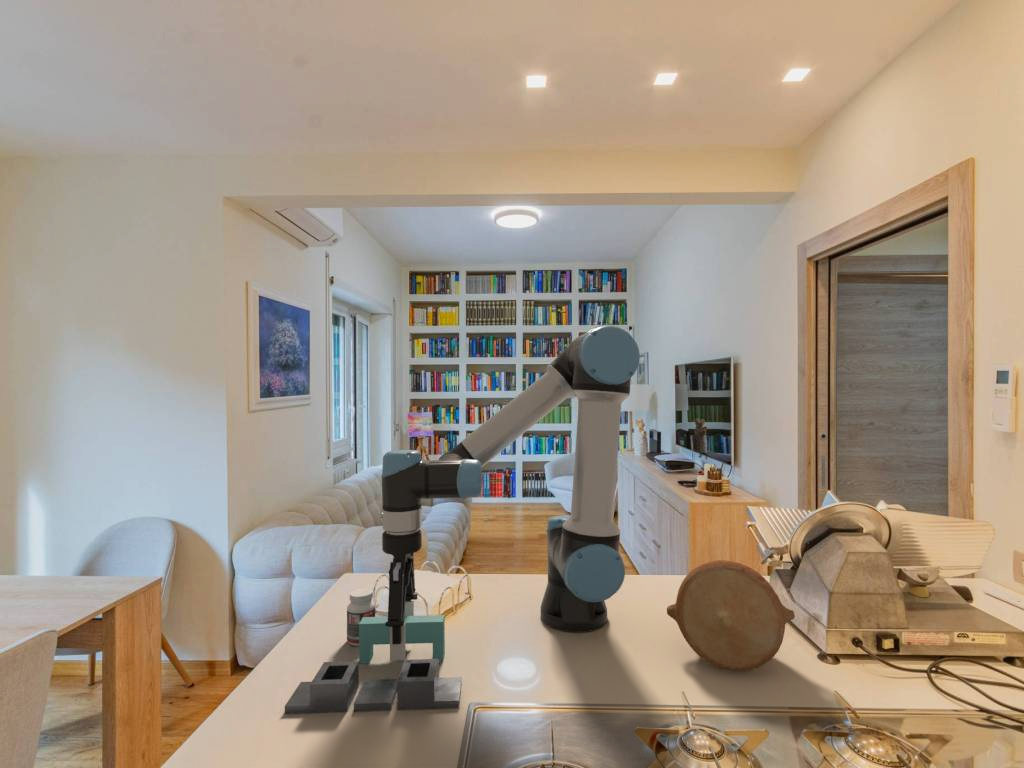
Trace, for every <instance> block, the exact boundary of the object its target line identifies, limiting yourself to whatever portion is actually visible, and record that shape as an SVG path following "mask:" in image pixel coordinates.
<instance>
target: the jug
mask: <svg viewBox="0 0 1024 768" xmlns="http://www.w3.org/2000/svg"><path fill="white" fill-rule="evenodd" d="M666 615H668V616H669V617H670V618H672V619H673V620H674V621H675V622H676V624H677V626H678V628H679V631H680V633H681V635H682V636H683V638H684V640H685V641H686V643H687V644H688V645H689V647H690V648H691V649H692V650H693V652H695V654H696V655H698V656H699V658H701V659H702V660H704V661H705V662H707V663H709V664H710V665H712V666H714V667H716V668H718V669H722V670H726V671H733V672H747V671H752V670H756V669H758V668H760V667H762V666H764V665H765V664H766V663H768V662H770V661H771V660H772V659H773V658H774V657H775V655H777V653H778V652H779V650H780V648H781V646H782V643H783V641H784V637H785V630H786V624H787V623H788V622H790V621H793V620H794V619H795V617H796V616H795V612H794V610H793V609H789V608H787V606H785V605H783V603H782V601H781V599H780V597H779V596H778V594H777V593H776V591H775V590H774V589H773V586H772V585H771V584H770V582H769V581H768V580H767V579H766V578H765V577H764V576H763V575H761V574H760V573H759V572H758V571H756V570H755V569H753V568H751V567H749V566H748V565H745V564H742V562H741V563H740V562H737V561H731V560H720V559H719V560H713V561H708V562H706V563H702V564H699V565H698V566H696V567H694V568H692V570H691V571H689V572H688V573H687V575H686V576H685V577H684V579H683V580H682V582H681V584H680V586H679V588H678V590H677V595H676V600H675V603H674V604H670V605H668V606H667V607H666Z"/></svg>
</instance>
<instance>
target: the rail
mask: <svg viewBox="0 0 1024 768" xmlns="http://www.w3.org/2000/svg"><path fill="white" fill-rule="evenodd" d="M439 662H440V661H439V659H433V658H428V659H427V658H421V659H405V660H403V663H402V667H401V669H400V673H399V676H398V678H389V679H388V678H385V679H364V680H363V683H362V685H361V687H360V684H359V681H360V680H359V679H360V678H359V677H360V674H359V671H360V670H359V668H360V667H359V660H355V661H354V660H352V661H350V660H349V661H324V662H323V663H322V665H321V666H320V668H319V670H318V671H317V673H316V674H315V676H313V677H314V678H313V679H312V681H300V682H299V684H298V686H297V687H296V689H295V690H294V692H293V693H292V695H291V696H290V698H289V699H288V700H287V702H286V703H285V705H284V714H285V715H286V714H287V715H289V714H291V715H292V714H314V713H315V714H316V713H317V714H318V713H320V714H321V713H347V712H348V711H349V709H350V707H351V704H352V703H353V712H377V711H378V712H379V711H380V712H381V711H392V709H393V705H394V702H395V699H396V701H397V702H396V707H397V708H396V710H397V711H408V710H410V711H411V710H413V711H414V710H438V709H440V710H441V709H460V703H461V702H460V701H461V693H462V692H461V691H462V684H463V683H462V681H463V680H462V676H453V677H452V676H451V677H447V676H446V677H440V670H439V669H440V663H439ZM359 687H360V688H359ZM358 689H359V691H358ZM356 694H357V696H356ZM355 696H356V698H355ZM354 699H355V700H354ZM353 700H354V702H353Z"/></svg>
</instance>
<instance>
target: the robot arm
mask: <svg viewBox="0 0 1024 768" xmlns="http://www.w3.org/2000/svg"><path fill="white" fill-rule="evenodd" d="M640 357H641V355H640V349H639V347H638V344H637V342H636V340H635V339H634V337H632V335H631V334H630V332H628V331H626V330H625V329H623V328H621V327H619V326H613V325H605V326H604V325H603V326H596V327H594V328H591V329H590V330H588V331H587V332H586V333H583V334H580V335H579V336H577V337H575V339H574V340H572V342H571V343H570V344H569V345H568V346H567V347H566V348H565V349H564V350H563V351H562V352H561V353H560V354H559V355H558V356H557V357H556V358H555V359H554V360H552V361H551V362H550V363H549V364H547V366H546V372H545V373H544V374H542V375H541V376H540V377H538V379H536V380H535V381H534V382H533V383H531V384H530V385H529V386H528V387H527V388H525V389H524V390H523V391H522V392H520V393H519V394H518V395H517V396H515V397H514V398H513V399H512V400H510V401H509V402H508V403H507V404H506V405H504V406H503V407H501V409H499V410H498V411H496V412H495V413H494V414H493V415H492V416H491V417H489V419H487V420H486V421H484V422H483V423H482V424H481V425H480V426H478V427H477V428H475V430H473V431H472V432H471V433H470V434H468V435H467V436H466V437H465V438H464V439H462V440H461V442H459V443H458V444H456V445H455V446H454V447H453V448H452V449H450V450H448V451H446V452H445V453H443V454H442V455H441V456H440V457H439V458H438V459H436V460H435V459H434V460H428V459H427V460H426V459H423V457H422V453H421V451H419V450H418V449H417V450H416V449H398V450H389V451H387V452H386V453H384V454H383V456H382V469H381V472H382V473H381V494H382V495H381V496H382V497H381V499H382V500H381V502H382V504H381V505H382V512H381V513H380V514H379V516H378V517H379V518H380V519H382V530H383V532H382V534H381V535H382V539H381V540H382V541H381V543H382V545H381V546H382V548H381V550H382V552H384V553H385V554H387V555H391V556H393V558H392V561H391V562H390V566H389V571H388V581H389V582H388V603H387V604H388V605H387V606H388V607H387V617H388V622H385V626H388V627H390V644H389V661H404V660H406V656H407V655H406V644H405V623H404V616H415V613H414V612H415V611H414V610H415V609H414V608H415V606H414V604H415V600H418V593H415V592H416V584H415V583H416V582H415V580H416V579H415V563H414V562H415V558H414V555H415V554H414V553H417V552H418V551H420V550H421V549H422V546H423V545H422V544H423V543H422V541H423V540H422V535H423V534H422V530H421V528H422V526H423V520H422V519H423V516H422V515H423V514H422V513H423V512H422V511H423V507H422V500H424V499H425V500H433V499H434V500H435V499H462V500H463V499H464V500H465V499H467V498H477V497H479V496H481V495H482V492H483V471H482V470H483V469H482V468H483V467H484V466H486V465H487V464H488V463H489V462H491V461H492V460H493V459H494V458H495V457H497V456H498V455H499V454H500V453H502V452H503V451H504V450H505V449H506V448H508V447H509V446H510V445H512V444H513V442H516V440H518V439H519V438H520V437H521V436H523V435H524V434H525V433H526V432H527V431H529V430H530V429H531V428H532V427H534V426H535V425H536V424H537V423H538V422H540V420H542V419H543V418H545V417H546V416H547V415H548V414H549V413H551V412H552V411H553V410H554V409H556V408H557V407H559V406H560V404H562V403H563V402H564V401H565V400H566V399H574V398H577V399H578V409H577V422H576V424H577V425H576V436H575V437H576V438H575V452H574V465H573V481H572V490H571V491H572V494H571V507H570V515H569V514H565V515H564V514H563V515H556V516H551V517H550V518H548V520H547V527H546V530H545V531H546V533H547V534H546V536H547V537H546V539H547V544H546V545H547V549H546V550H547V585H546V588H545V591H544V594H543V598H542V601H541V604H540V619H541V621H542V623H543V624H544V625H546V626H548V627H550V628H552V629H555V630H558V631H563V632H568V633H585V632H591V631H595V630H598V629H600V628H602V627H604V626H605V625H606V624H607V623H608V608H607V604H606V602H605V601H607V600H608V599H610V598H611V597H612V596H614V595H615V594H616V593H618V592H619V590H620V589H621V588H622V585H623V583H624V581H625V575H626V570H625V569H626V568H625V567H626V566H625V564H624V561H623V558H622V556H621V554H620V542H621V541H620V540H621V539H620V538H621V530H620V528H619V527H618V526H617V525H616V523H615V521H614V512H615V502H616V501H615V500H616V484H617V483H616V482H617V470H618V459H619V457H618V456H619V455H618V454H619V443H620V442H619V441H620V427H621V413H622V404H623V402H624V401H625V400H626V399H627V398H628V397H630V396H631V395H630V393H631V380H632V377H633V376H634V375H635V373H636V372H637V370H638V369H639V365H640Z"/></svg>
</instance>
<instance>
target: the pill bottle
mask: <svg viewBox="0 0 1024 768" xmlns="http://www.w3.org/2000/svg"><path fill="white" fill-rule="evenodd" d="M373 597H374V591H373V590H372V589H371V588H366V587H365V588H364V587H363V588H359V589H358V588H357V589H354V590H352V591H350V593H349V601H350V602H349V604H348V605H347V607H346V641H347V643H348V644H349V645H350V646H352V647H353V646H355V647H359V623H360V621H361V620H362V618H363V617H376V602H375V601H374V600H373Z"/></svg>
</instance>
